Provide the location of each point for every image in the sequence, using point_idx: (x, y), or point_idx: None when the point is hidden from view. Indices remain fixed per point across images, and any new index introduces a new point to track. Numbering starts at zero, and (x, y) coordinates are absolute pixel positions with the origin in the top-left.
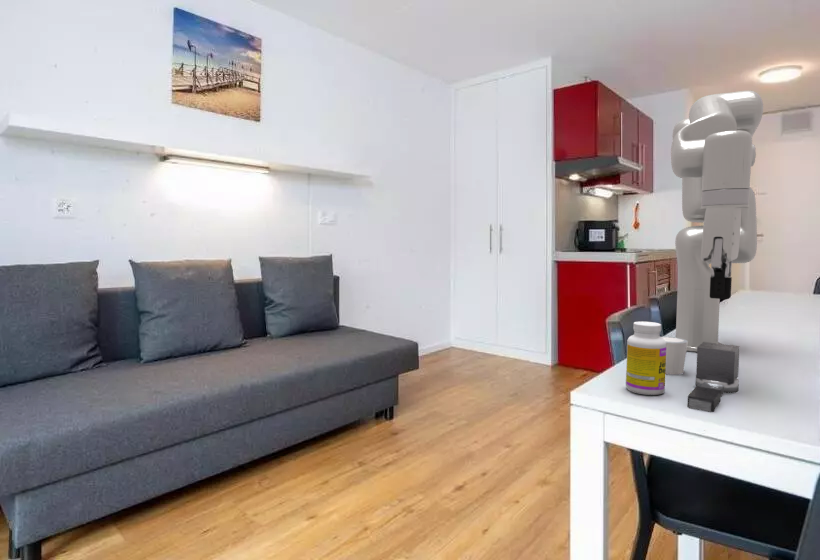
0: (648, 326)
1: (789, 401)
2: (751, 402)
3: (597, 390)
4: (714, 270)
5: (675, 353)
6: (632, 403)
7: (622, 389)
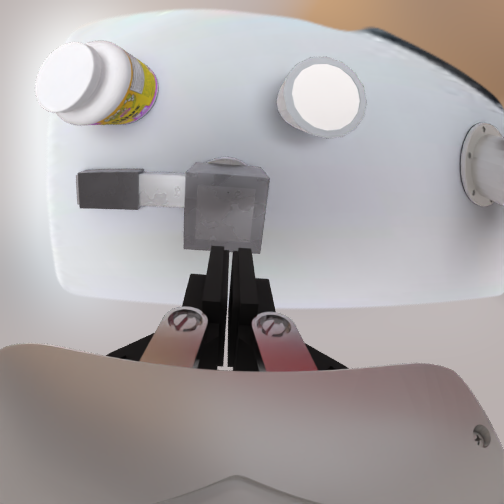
0: (36, 94)
1: None
2: (166, 242)
3: None
4: (120, 352)
5: (285, 113)
6: None
7: None
